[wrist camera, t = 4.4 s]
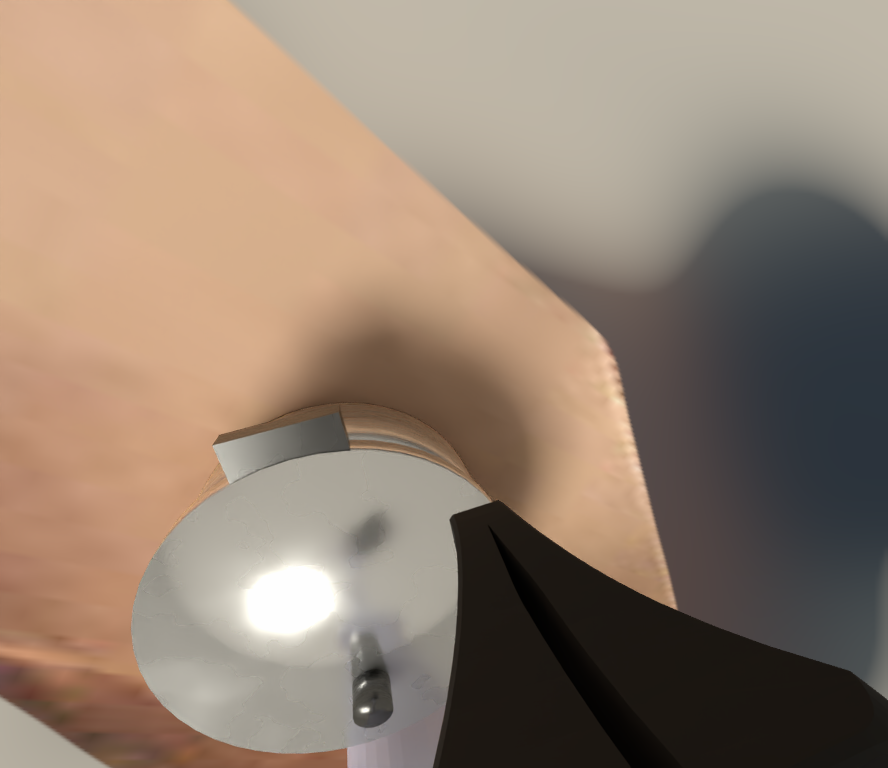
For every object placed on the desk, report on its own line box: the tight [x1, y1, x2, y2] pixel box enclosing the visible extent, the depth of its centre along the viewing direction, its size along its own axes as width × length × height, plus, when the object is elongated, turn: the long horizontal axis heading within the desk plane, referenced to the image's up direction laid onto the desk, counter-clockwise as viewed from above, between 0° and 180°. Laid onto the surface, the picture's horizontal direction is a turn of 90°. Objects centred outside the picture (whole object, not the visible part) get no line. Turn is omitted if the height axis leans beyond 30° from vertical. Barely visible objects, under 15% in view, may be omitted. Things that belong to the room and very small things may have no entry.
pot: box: [197, 403, 471, 499], centre depth 19 cm, size 15×14×4 cm
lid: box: [131, 404, 492, 753], centre depth 16 cm, size 16×15×2 cm
